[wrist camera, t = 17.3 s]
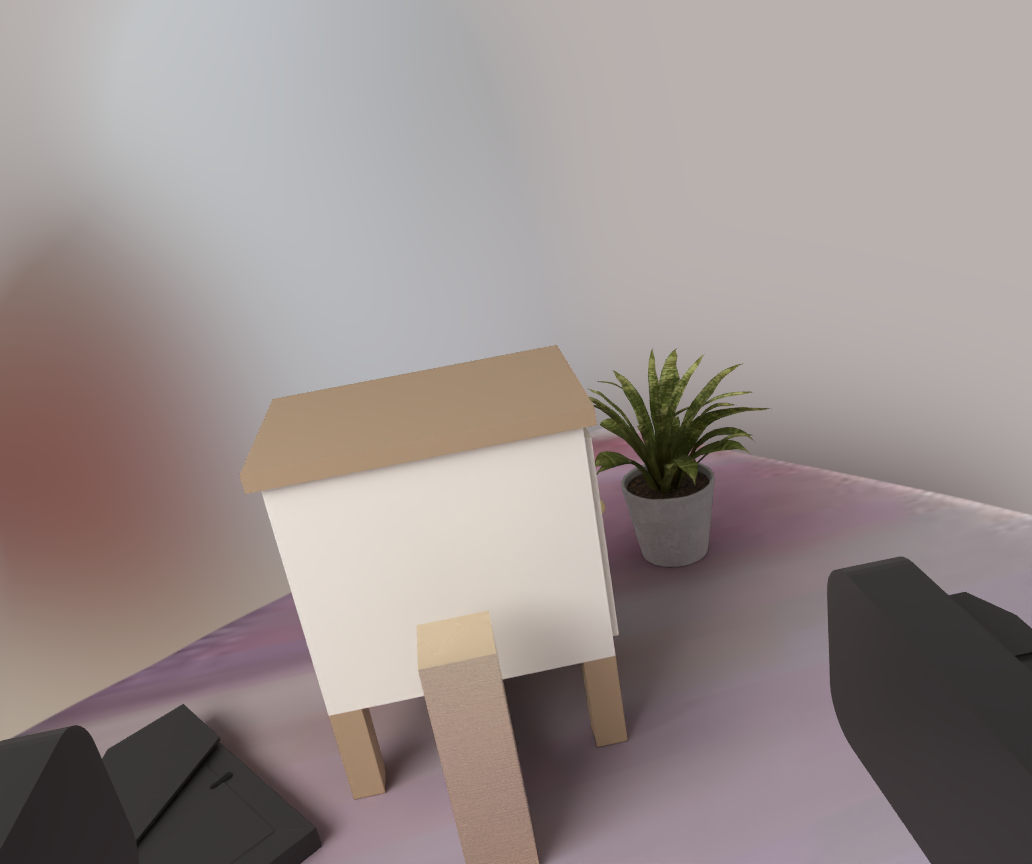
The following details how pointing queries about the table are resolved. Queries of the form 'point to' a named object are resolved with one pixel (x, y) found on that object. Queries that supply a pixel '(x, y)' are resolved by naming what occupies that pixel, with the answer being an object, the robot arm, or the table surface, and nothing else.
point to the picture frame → (201, 800)
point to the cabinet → (440, 532)
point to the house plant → (669, 463)
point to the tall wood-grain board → (476, 739)
